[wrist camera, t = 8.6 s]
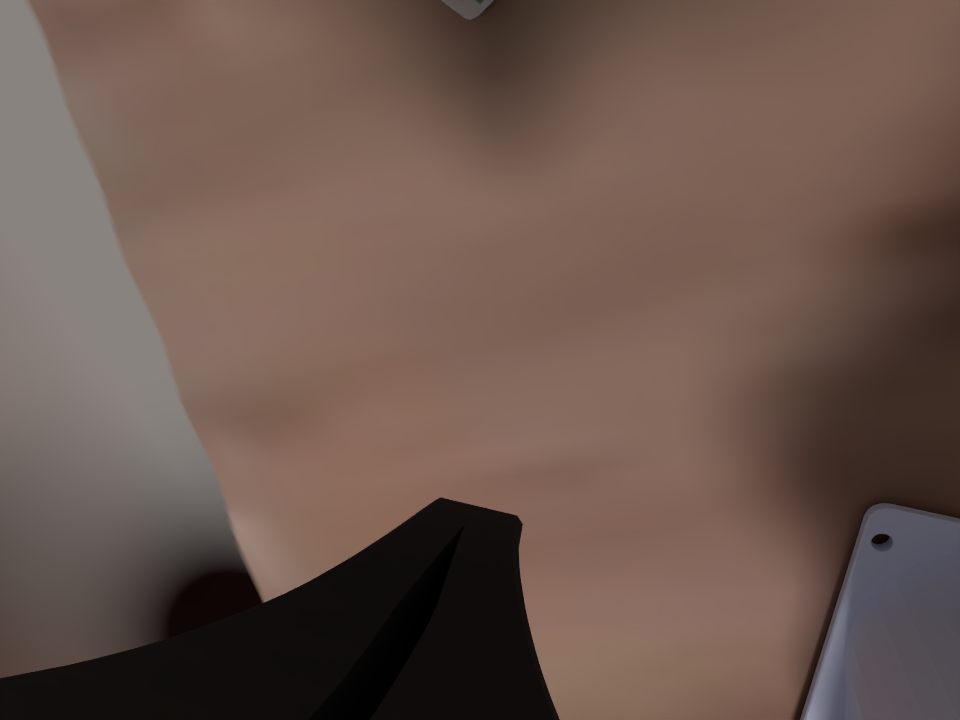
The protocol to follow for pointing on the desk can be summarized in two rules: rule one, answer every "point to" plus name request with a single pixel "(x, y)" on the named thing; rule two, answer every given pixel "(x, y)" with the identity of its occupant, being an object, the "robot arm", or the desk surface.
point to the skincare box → (468, 7)
